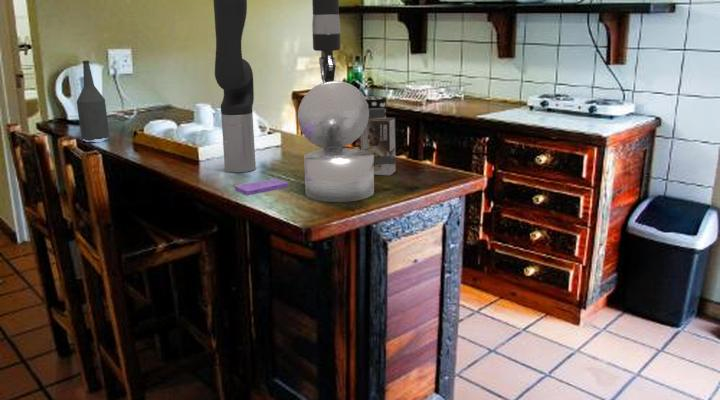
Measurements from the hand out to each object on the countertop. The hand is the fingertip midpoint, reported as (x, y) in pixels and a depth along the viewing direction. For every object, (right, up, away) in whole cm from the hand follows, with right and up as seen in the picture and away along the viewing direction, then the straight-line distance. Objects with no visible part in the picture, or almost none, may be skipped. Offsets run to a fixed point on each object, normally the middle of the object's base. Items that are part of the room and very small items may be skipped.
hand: (328, 96), depth 174 cm
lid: (+4, -7, -8) cm, 11 cm away
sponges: (-18, -26, -5) cm, 32 cm away
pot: (+6, -27, -9) cm, 29 cm away
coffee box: (+14, -21, +11) cm, 28 cm away
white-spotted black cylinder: (+13, -16, +27) cm, 34 cm away
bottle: (-92, -6, +65) cm, 113 cm away
